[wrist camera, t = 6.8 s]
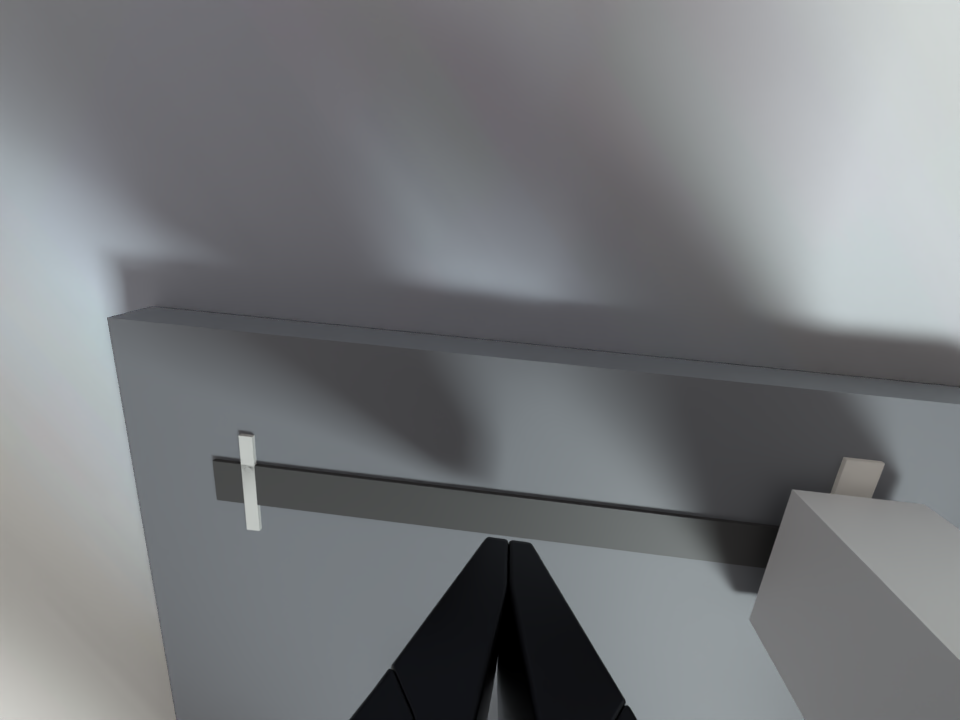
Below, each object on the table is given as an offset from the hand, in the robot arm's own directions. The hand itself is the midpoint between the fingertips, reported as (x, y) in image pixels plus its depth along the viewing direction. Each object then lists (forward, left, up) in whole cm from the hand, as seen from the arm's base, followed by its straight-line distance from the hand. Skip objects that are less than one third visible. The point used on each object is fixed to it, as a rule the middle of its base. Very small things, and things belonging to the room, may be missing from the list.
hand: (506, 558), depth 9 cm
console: (-6, -1, -3) cm, 6 cm away
